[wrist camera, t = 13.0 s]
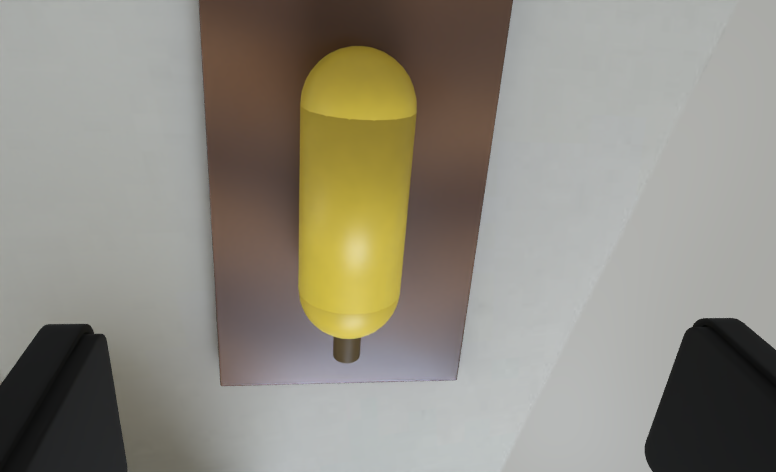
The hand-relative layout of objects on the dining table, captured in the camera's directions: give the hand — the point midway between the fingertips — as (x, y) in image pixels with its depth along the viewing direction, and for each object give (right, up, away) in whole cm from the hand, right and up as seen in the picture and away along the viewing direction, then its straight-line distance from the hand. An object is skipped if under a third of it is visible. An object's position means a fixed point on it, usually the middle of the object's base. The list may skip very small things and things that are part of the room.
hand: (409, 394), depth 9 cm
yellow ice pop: (-2, +4, +11) cm, 12 cm away
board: (-2, +5, +12) cm, 13 cm away
